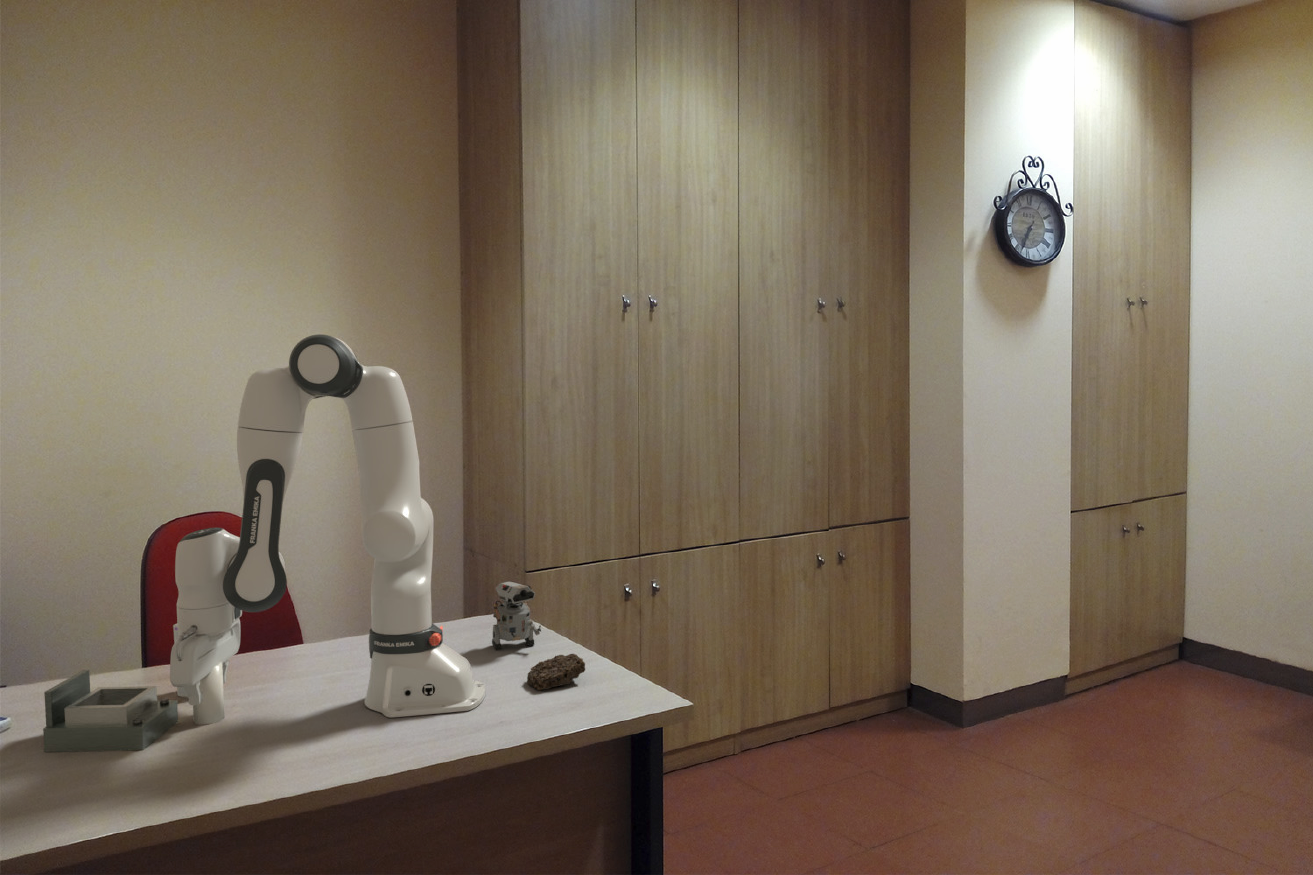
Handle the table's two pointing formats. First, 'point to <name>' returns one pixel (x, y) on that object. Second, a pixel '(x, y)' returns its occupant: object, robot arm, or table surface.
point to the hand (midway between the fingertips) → (208, 694)
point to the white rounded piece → (210, 698)
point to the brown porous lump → (555, 671)
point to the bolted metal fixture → (104, 716)
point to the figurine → (513, 614)
